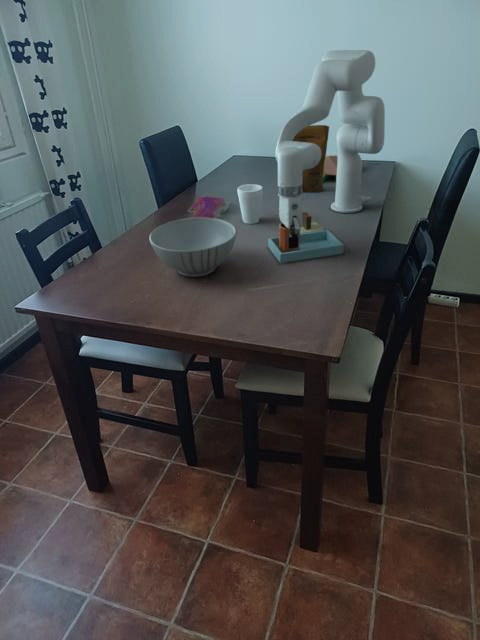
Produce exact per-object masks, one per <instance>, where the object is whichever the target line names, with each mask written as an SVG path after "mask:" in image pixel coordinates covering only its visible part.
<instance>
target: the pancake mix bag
mask: <svg viewBox="0 0 480 640" xmlns="http://www.w3.org/2000/svg"><path fill="white" fill-rule="evenodd" d="M329 133H330V126H328V125H326V124H312V125H310V126H307V127H305V128H303V129H302V130H301V131H299V132H298V133H297V134H296V136H295V137H294V139H293V141H297V142H307V143H314V144H316V145H318V146H319V147H320V149H321V159H320V161H319V163H318V164H317V165H316V166H315V167H313V168H311V169H306V170H303V171H302V193H321V192H323V191H324V184H323V172H324V161H325V157H326V156H327V148H328V141H329Z"/></svg>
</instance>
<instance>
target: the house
mask: <svg viewBox="0 0 480 640" xmlns="http://www.w3.org/2000/svg"><path fill="white" fill-rule="evenodd" d="M337 159H338V155H326V157H325V161H324V172H323V178H322V182H325V181H327V180H328V179H329V178H330V179H331V178H332V179H334V176H337Z"/></svg>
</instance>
